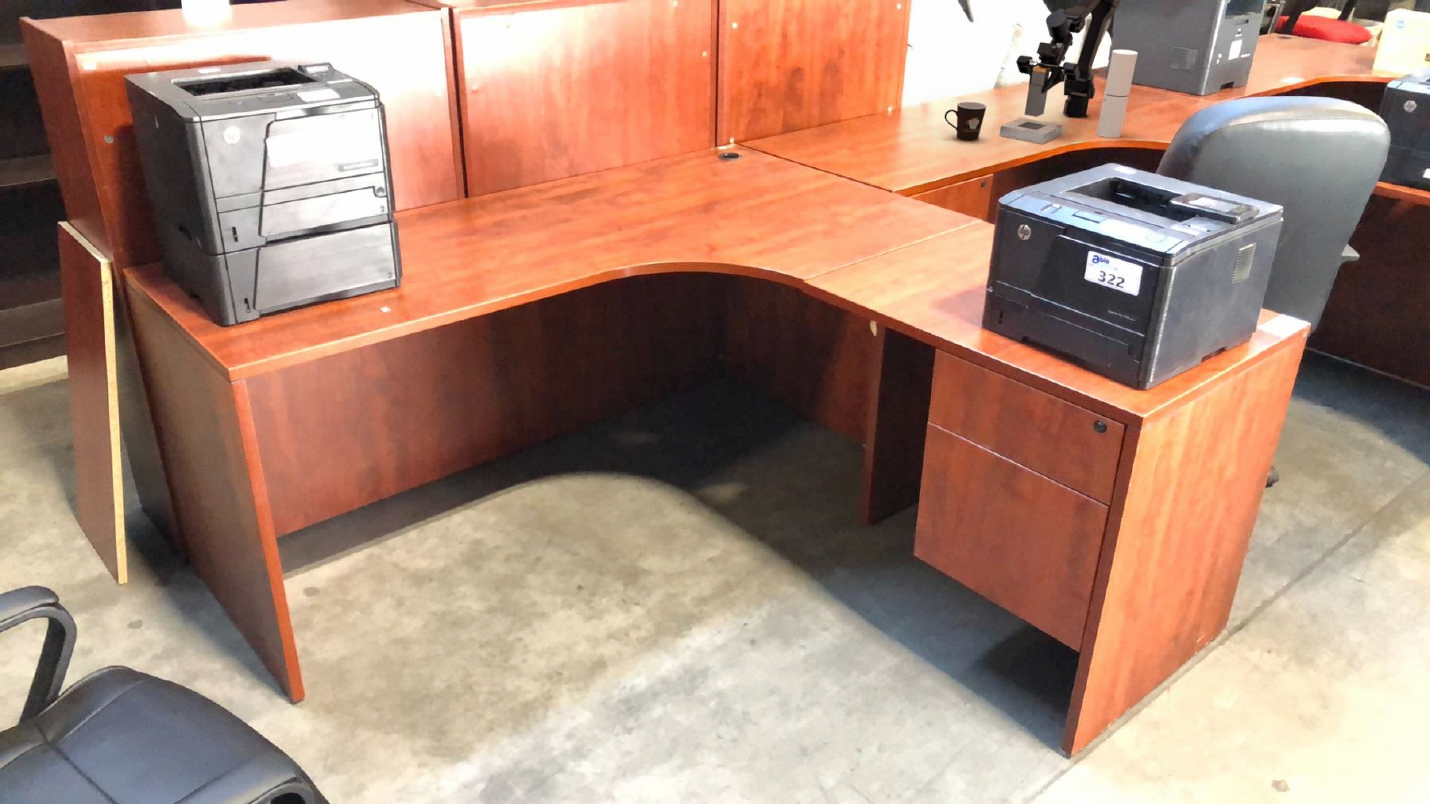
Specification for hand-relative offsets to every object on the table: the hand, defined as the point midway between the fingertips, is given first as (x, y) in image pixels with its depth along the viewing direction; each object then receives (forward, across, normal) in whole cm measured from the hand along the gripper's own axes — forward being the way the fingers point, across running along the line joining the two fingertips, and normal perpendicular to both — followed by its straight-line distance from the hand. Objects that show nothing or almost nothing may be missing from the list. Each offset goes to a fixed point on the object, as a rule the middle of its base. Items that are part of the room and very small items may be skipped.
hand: (1036, 91), depth 315 cm
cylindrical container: (-4, +18, +23) cm, 29 cm away
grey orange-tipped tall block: (+4, 0, +6) cm, 7 cm away
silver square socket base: (+9, 0, +10) cm, 14 cm away
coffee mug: (+21, -14, -2) cm, 25 cm away
